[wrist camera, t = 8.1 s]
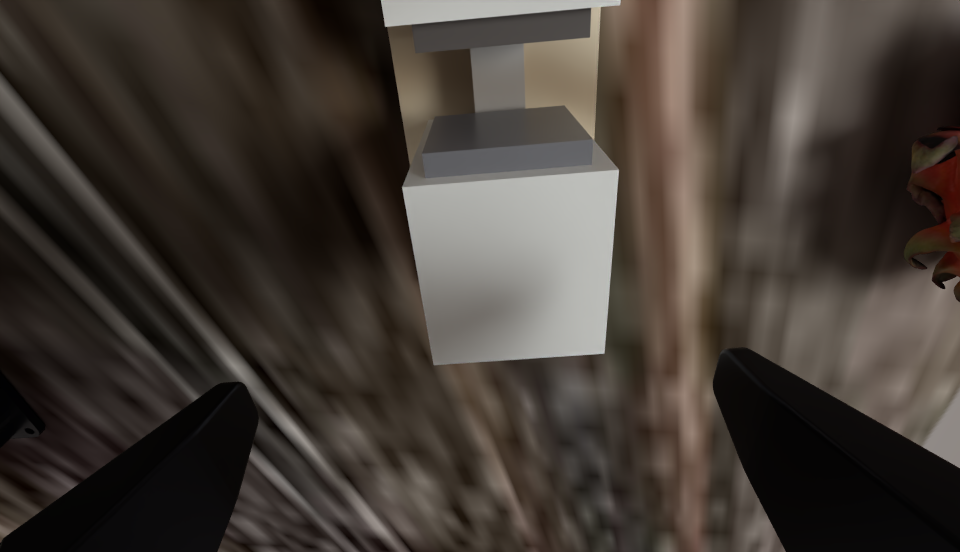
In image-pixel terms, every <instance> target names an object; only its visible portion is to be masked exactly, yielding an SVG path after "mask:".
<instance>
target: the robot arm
mask: <svg viewBox="0 0 960 552" xmlns="http://www.w3.org/2000/svg"><path fill="white" fill-rule="evenodd" d="M713 390H714V394H715V397H716V399H717V402H718V405H719V407H720V410H721V412H722V415H723V417H724V420H725V423H726V425H727V428H728V430H729V433H730V436H731V438H732V441H733V443H734V446H735V448H736V451H737V454H738V456H739V459H740V461H741V463H742V466H743V468H744V471H745V473H746V475H747V477H748V479H749V481H750V483H751V485H752V487H753V489H754V491H755V493H756V495H757V496H758V498H759V500H760V502H761V504H762V506H763V508H764V510H765V512H766V514H767V516H768V518H769V520H770V522H771V524H772V526H773V528H774V529H775V531H776V533H777V535H778V537H779V539H780V541H781V543H782V545H783V547H784V549H785V551H786V552H960V468H958V467H957V466H955V465H953V464H951V463H950V462H948V461H946V460H944V459H942V458H941V457H939V456H937V455H935V454H934V453H932V452H930V451H928V450H927V449H925V448H923V447H921V446H920V445H918V444H916V443H914V442H913V441H911V440H909V439H907V438H906V437H904V436H902V435H900V434H898V433H897V432H895V431H893V430H891V429H890V428H888V427H886V426H884V425H883V424H881V423H879V422H877V421H876V420H874V419H872V418H870V417H869V416H867V415H865V414H863V413H861V412H860V411H858V410H856V409H854V408H853V407H851V406H849V405H847V404H846V403H844V402H842V401H840V400H839V399H837V398H835V397H833V396H832V395H830V394H828V393H826V392H824V391H823V390H821V389H819V388H817V387H816V386H814V385H812V384H810V383H809V382H807V381H805V380H803V379H802V378H800V377H798V376H796V375H794V374H793V373H791V372H789V371H787V370H786V369H784V368H782V367H780V366H779V365H777V364H775V363H773V362H772V361H770V360H768V359H766V358H765V357H763V356H761V355H759V354H757V353H756V352H754V351H752V350H750V349H748V348H744V347H741V348H727V349H724V350H722V352H721V353H720V355H719V359H718V363H717V367H716V371H715V375H714V379H713ZM258 420H259V416H258V411H257V409H256V406H255V404H254V402H253V400H252V398H251V396H250V394H249V392H248V389H247V387H246V386H245V385H244V384H243V383H242V382H226V383H220V384H218V385H216V386H215V387H213V388H212V389H210V390H209V391H208V392H206V393H205V394H203V395H202V396H201V397H199V398H198V399H197V400H195V401H194V402H192V403H191V404H190V405H188V406H187V407H185V408H184V409H183V410H181V411H180V412H178V413H177V414H176V415H174V416H173V417H171V418H170V419H169V420H167V421H166V422H165V423H163V424H162V425H160V426H159V427H158V428H156V429H155V430H153V431H152V432H151V433H149V434H148V435H146V436H145V437H144V438H142V439H141V440H139V441H138V442H137V443H135V444H134V445H132V446H131V447H130V448H128V449H127V450H126V451H124V452H123V453H121V454H120V455H119V456H117V457H116V458H114V459H113V460H112V461H110V462H109V463H107V464H106V465H105V466H103V467H102V468H100V469H99V470H98V471H96V472H95V473H94V474H92V475H91V476H89V477H88V478H87V479H85V480H84V481H82V482H81V483H80V484H78V485H77V486H75V487H74V488H73V489H71V490H70V491H68V492H67V493H66V494H64V495H63V496H61V497H60V498H59V499H57V500H56V501H55V502H53V503H52V504H50V505H49V506H48V507H46V508H45V509H43V510H42V511H41V512H39V513H38V514H36V515H35V516H34V517H32V518H31V519H29V520H28V521H27V522H25V523H24V524H23V525H21V526H20V527H18V528H17V529H16V530H14V531H13V532H11V533H10V534H9V535H7V536H6V537H5V538H3V540H2V542H1V543H0V552H217V551H218V549H219V546H220V543H221V541H222V538H223V536H224V533H225V530H226V528H227V525H228V523H229V520H230V517H231V515H232V512H233V509H234V507H235V504H236V501H237V498H238V495H239V491H240V488H241V485H242V481H243V477H244V474H245V470H246V466H247V463H248V459H249V455H250V452H251V448H252V444H253V441H254V437H255V433H256V430H257V426H258ZM44 430H45V426H44V424H43V423H42V422H41V421H40V420H39V418H38V417H37V416H36V415H35V414H34V413H33V411H32V410H31V409H30V408H29V407H28V405H27V404H26V403H25V402H24V401H23V400H22V398H21V397H20V396H19V395H18V394H17V392H16V391H15V390H14V389H13V388H12V387H11V385H10V384H9V383H8V382H7V381H6V379H5V378H4V377H3V376H2V375H1V374H0V448H1V447H2V446H3V445H4V444H5V443H6V442H7V441H8V440H9V439H13V438H29V437H37V436H39V435H40V434H41V433H42V432H43V431H44Z"/></svg>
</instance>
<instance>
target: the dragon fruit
mask: <svg viewBox="0 0 960 552" xmlns="http://www.w3.org/2000/svg"><path fill="white" fill-rule="evenodd" d="M937 130H942V131H940V132H935V133H932V134H929V135H927V136H924V137H921V138H919V139H918V140H916V142H915V143H914V144H913V146H912V161H911V170H912V173H911V177H910V180H909V182H908V184H907V190H908V191H909V192H911V194H912V199H913V200H914V201H915V202H916V203H917V204H919V205H925V206H926V207H927V208H928V209H929V210H930V211H931V212H932V214H933V216H934V218H935V219H936V220H937V222H938V224H939V225H936V226H934V227H930V228H927V229H924V230H921V231H919V232H917V233H916V234H915V235H913V236H912V237H911V239H910V240H909V241H908V243H907V244H906V247H905V250H904V258H905V260H906V261H907V262H908V263H909V264H910V265H912V266H913V267H915V268H918V269H927V267H926V266H925V265H924V264H922V263H921V262H919V261H917V260H916V259H914V258H913V257H914V256H915V255H919V254H928V253H932V252H935V251H948V252H947V253H946V254H945V255H944V257H943V258H942V259H941V260H940V261H939V263H938V264H937V265H936V267H935V269H934V272H933V277H932V281H933V282H934V283H935V284H936V285H937V286H938V287H940V288H942V289H945V286H944V284H943V283H942V282H944V281H948V280H950V279H953V278H955V277H956V276H958V277H960V127H954V126H947V127H940V128H938V129H937ZM953 151H955V153H956V156H954V157H953V158H951V159H949V160H947V161H945V162H942V163H940V164H937V163H938V162H939V161H941V160H942V159H943V158H944V157H945V156H947V155H948V154H949V153H951V152H953ZM934 192H935V193H936V194H938V195H939V196H941V197H942V198H943V200H940V198H939V196H938V195H936V194H935V193H934ZM954 295H955V297H956V299H957V300H958V301H959V302H960V281H959V282H958V283H957V285H956V286H955V288H954Z"/></svg>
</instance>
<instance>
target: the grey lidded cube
mask: <svg viewBox="0 0 960 552" xmlns="http://www.w3.org/2000/svg"><path fill="white" fill-rule="evenodd" d="M618 174H619V169H618V168H617V167H616V166H615V165H614V163H613V162H612V161H611V160H610V159H609V158H608V156H607V155H606V154H605V153H604V152H603V150H602V149H601V148H600V147H599V146H598V145H597V143H596V142H595V141H594V140H593V139H592V137H591V136H590V135H589V134H588V133H587V131H586V130H585V129H584V128H583V127H582V126H581V124H580V123H579V122H578V121H577V120H576V118H575V117H574V116H573V115H572V114H571V113H570V111H569V110H568V109H567V108H566V107H565V105H562V106H551V107H539V108H528V109H516V110H505V111H493V112H482V113H470V114H459V115H447V116H435V118H434V119H432V120H428V123H427V125H426V128H425V130H424V133H423V135H422V138H421V141H420V143H419V146H418V148H417V151H416V153H415V156H414V158H413V161H412V163H411V166H410V169H409V171H408V174H407V176H406V179H405V181H404V184H403V186H402V190H403V195H404V201H405V206H406V212H407V218H408V223H409V229H410V235H411V240H412V246H413V251H414V257H415V263H416V268H417V274H418V279H419V285H420V291H421V296H422V302H423V307H424V313H425V319H426V324H427V330H428V335H429V341H430V347H431V352H432V358H433V363H434V365H442V364H457V363H471V362H486V361H501V360H516V359H531V358H546V357H560V356H575V355H590V354H604V352H605V339H606V326H607V313H608V301H609V288H610V275H611V263H612V250H613V237H614V224H615V212H616V199H617V186H618Z"/></svg>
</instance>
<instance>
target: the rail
mask: <svg viewBox="0 0 960 552" xmlns="http://www.w3.org/2000/svg"><path fill="white" fill-rule="evenodd" d="M620 2H621V0H381V4H382V10H383V16H384V22H385V27H387V28H388V35H389V41H390V47H391V53H392V59H393V65H394V71H395V77H396V83H397V89H398V96H399V102H400V108H401V114H402V120H403V126H404V132H405V138H406V144H407V150H408V156H409V163H410V166H411V163H412V161H413V158H414V156H415V153H416V151H417V148H418V146H419V143H420V141H421V138H422V135H423V133H424V130H425V128H426V125H427V123H428V120H432V119H434V118H435V116H447V115H459V114H470V113H482V112H493V111H505V110H516V109H528V108H539V107H551V106H562V105H565V107H566V108H567V109H568V110H569V111H570V113H571V114H572V115H573V116H574V117H575V118H576V120H577V121H578V122H579V123H580V124H581V126H582V127H583V128H584V129H585V130H586V131H587V133H588V134H589V135H590V136H591V137H592V139H593V140H594V132H595V112H596V91H597V71H598V50H599V30H600V9H601V7H604V6H615V5H620Z"/></svg>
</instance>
